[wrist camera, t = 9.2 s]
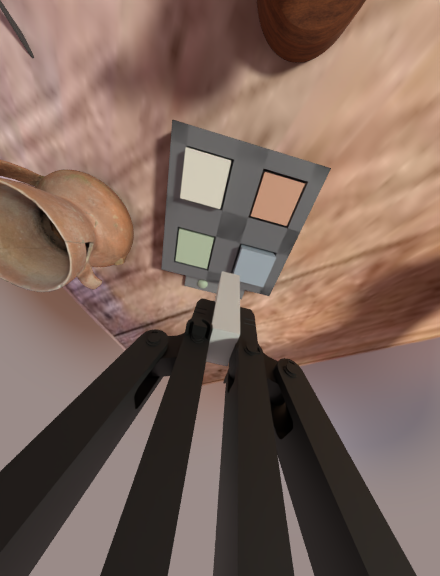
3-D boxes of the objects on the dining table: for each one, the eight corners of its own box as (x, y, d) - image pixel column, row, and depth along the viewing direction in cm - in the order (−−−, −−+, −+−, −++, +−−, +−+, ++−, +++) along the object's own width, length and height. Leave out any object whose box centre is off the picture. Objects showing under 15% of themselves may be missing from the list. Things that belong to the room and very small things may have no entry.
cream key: (231, 162, 23) (230, 160, 21) (221, 207, 26) (220, 209, 24) (189, 149, 22) (185, 146, 20) (184, 196, 25) (180, 198, 23)
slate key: (273, 252, 29) (276, 257, 27) (261, 280, 32) (263, 287, 30) (241, 244, 28) (241, 248, 26) (231, 273, 31) (231, 279, 29)
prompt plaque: (245, 285, 35) (245, 288, 35) (241, 297, 37) (241, 300, 36) (187, 271, 35) (186, 273, 34) (185, 283, 36) (184, 286, 35)
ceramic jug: (161, 242, 32) (117, 277, 20) (109, 276, 36) (45, 322, 24) (80, 131, 25) (-71, 78, 12) (26, 191, 29) (-124, 195, 17)
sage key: (215, 234, 29) (213, 238, 27) (208, 263, 32) (206, 268, 30) (182, 225, 29) (179, 228, 27) (178, 256, 32) (175, 260, 30)
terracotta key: (299, 183, 25) (304, 183, 23) (283, 222, 28) (286, 225, 26) (262, 172, 24) (264, 171, 22) (249, 213, 27) (250, 216, 25)
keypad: (319, 169, 25) (330, 168, 22) (266, 286, 35) (269, 296, 32) (180, 127, 23) (172, 119, 20) (167, 261, 34) (161, 269, 31)
